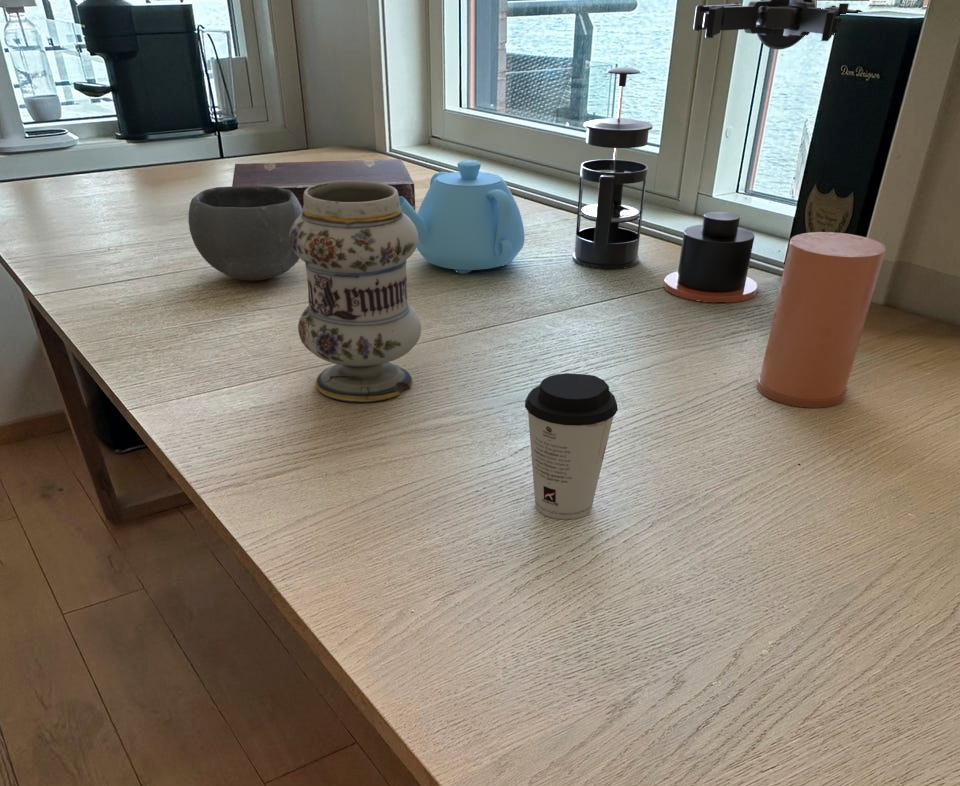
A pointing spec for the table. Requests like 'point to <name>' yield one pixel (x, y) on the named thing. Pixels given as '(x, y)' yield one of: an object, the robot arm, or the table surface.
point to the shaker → (819, 317)
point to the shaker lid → (715, 254)
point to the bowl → (245, 230)
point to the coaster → (688, 293)
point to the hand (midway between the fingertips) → (767, 24)
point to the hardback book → (325, 175)
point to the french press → (611, 190)
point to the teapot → (467, 220)
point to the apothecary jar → (357, 287)
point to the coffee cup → (568, 441)
